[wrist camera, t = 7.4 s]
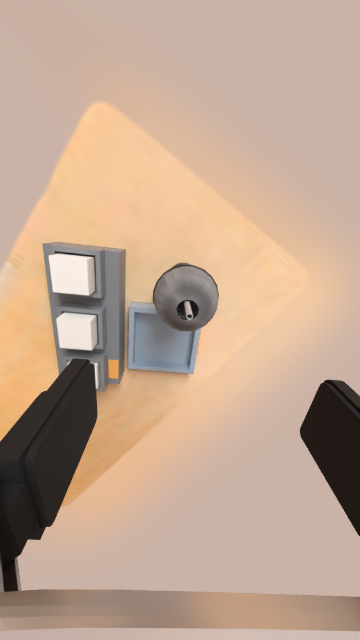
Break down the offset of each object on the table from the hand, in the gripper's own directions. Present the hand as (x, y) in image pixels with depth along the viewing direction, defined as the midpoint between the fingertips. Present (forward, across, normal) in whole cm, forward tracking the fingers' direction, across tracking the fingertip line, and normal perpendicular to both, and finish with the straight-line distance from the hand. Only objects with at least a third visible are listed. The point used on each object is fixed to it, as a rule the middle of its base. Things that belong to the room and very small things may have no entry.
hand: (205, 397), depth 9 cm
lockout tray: (+27, +2, +12) cm, 30 cm away
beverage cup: (+28, 0, +1) cm, 28 cm away
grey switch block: (+27, +14, +9) cm, 32 cm away
